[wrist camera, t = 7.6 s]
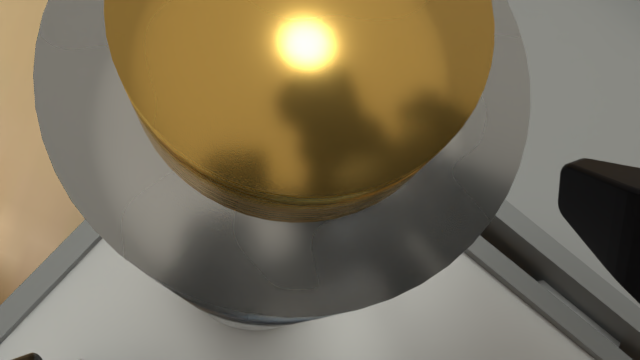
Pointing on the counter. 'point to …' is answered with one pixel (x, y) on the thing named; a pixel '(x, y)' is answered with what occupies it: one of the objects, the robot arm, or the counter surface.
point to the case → (574, 147)
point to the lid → (298, 339)
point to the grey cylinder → (284, 142)
